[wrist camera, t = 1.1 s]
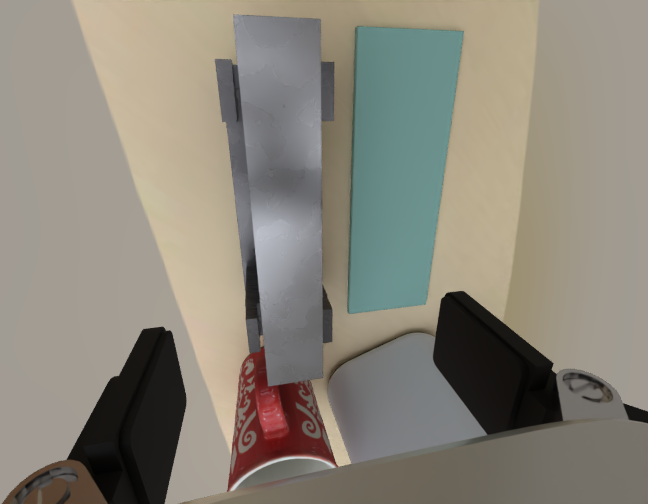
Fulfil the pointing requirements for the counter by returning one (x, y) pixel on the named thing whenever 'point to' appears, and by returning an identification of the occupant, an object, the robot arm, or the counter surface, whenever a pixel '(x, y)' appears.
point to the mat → (398, 161)
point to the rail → (285, 185)
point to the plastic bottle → (397, 401)
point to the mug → (275, 429)
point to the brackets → (235, 130)
